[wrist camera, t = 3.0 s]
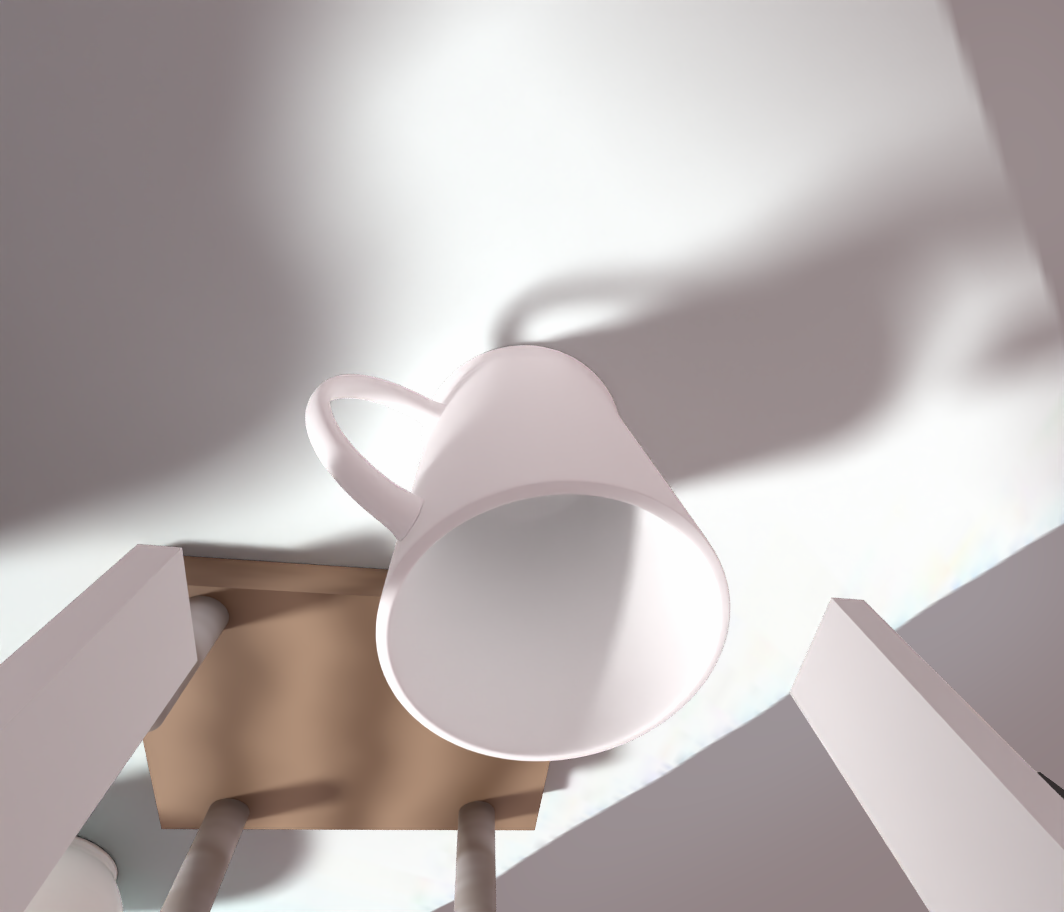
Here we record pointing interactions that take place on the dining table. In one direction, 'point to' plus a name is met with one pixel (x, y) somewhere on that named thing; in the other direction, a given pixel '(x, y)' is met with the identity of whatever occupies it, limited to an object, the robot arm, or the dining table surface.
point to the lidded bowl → (80, 882)
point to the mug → (531, 561)
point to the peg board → (312, 732)
